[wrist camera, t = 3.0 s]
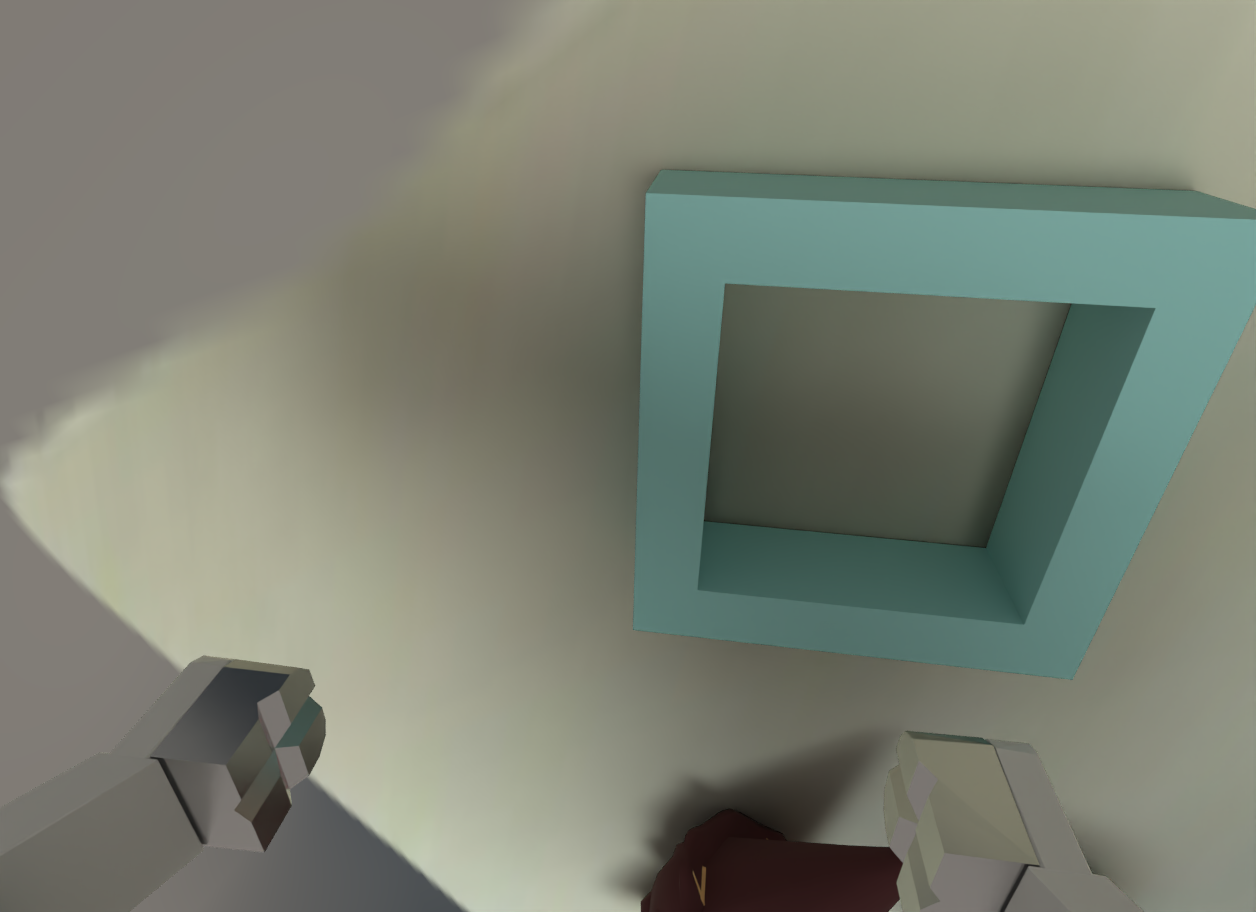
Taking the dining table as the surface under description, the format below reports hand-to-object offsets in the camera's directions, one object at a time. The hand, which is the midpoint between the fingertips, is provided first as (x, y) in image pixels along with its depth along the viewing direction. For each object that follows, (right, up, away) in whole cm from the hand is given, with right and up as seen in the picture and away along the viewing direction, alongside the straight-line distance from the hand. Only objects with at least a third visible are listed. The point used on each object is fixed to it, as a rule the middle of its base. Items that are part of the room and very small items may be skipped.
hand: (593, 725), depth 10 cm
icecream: (+5, -11, +18) cm, 21 cm away
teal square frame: (+7, +5, +8) cm, 11 cm away
